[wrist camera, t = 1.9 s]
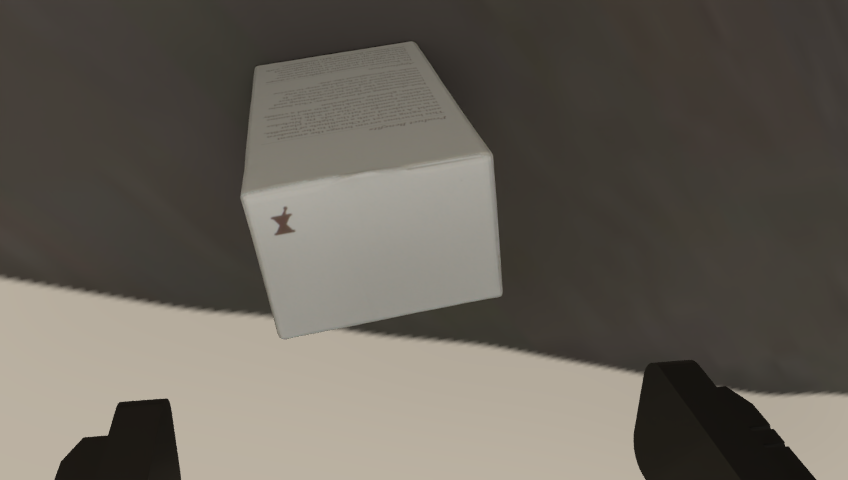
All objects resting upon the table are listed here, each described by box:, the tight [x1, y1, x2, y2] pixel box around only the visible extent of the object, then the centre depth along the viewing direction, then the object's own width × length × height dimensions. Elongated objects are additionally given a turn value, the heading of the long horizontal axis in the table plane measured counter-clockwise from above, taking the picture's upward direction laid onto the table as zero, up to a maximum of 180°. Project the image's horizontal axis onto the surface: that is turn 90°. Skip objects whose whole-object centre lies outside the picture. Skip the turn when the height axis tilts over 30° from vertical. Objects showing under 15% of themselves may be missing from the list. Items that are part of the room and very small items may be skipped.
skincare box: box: [241, 41, 503, 339], centre depth 25 cm, size 6×4×12 cm
